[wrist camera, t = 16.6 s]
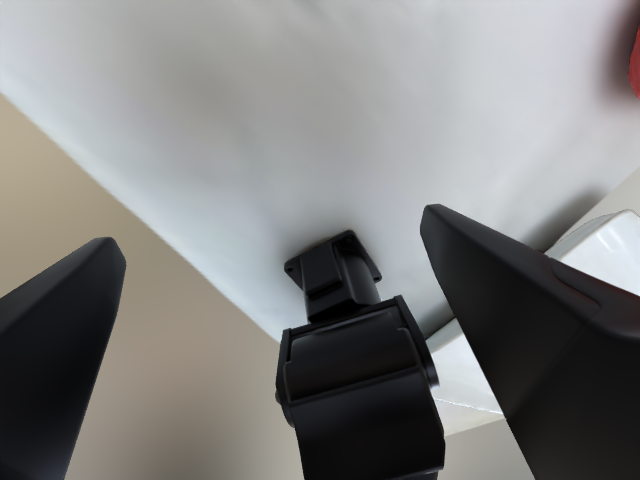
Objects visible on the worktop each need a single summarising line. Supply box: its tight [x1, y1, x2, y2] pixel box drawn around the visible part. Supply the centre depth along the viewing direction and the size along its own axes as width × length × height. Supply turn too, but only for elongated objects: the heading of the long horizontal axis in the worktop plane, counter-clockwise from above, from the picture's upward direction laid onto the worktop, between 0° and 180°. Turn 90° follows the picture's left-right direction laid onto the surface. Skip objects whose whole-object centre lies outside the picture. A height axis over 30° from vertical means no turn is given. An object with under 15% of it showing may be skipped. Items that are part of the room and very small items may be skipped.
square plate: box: [426, 209, 640, 414], centre depth 36 cm, size 27×27×4 cm
